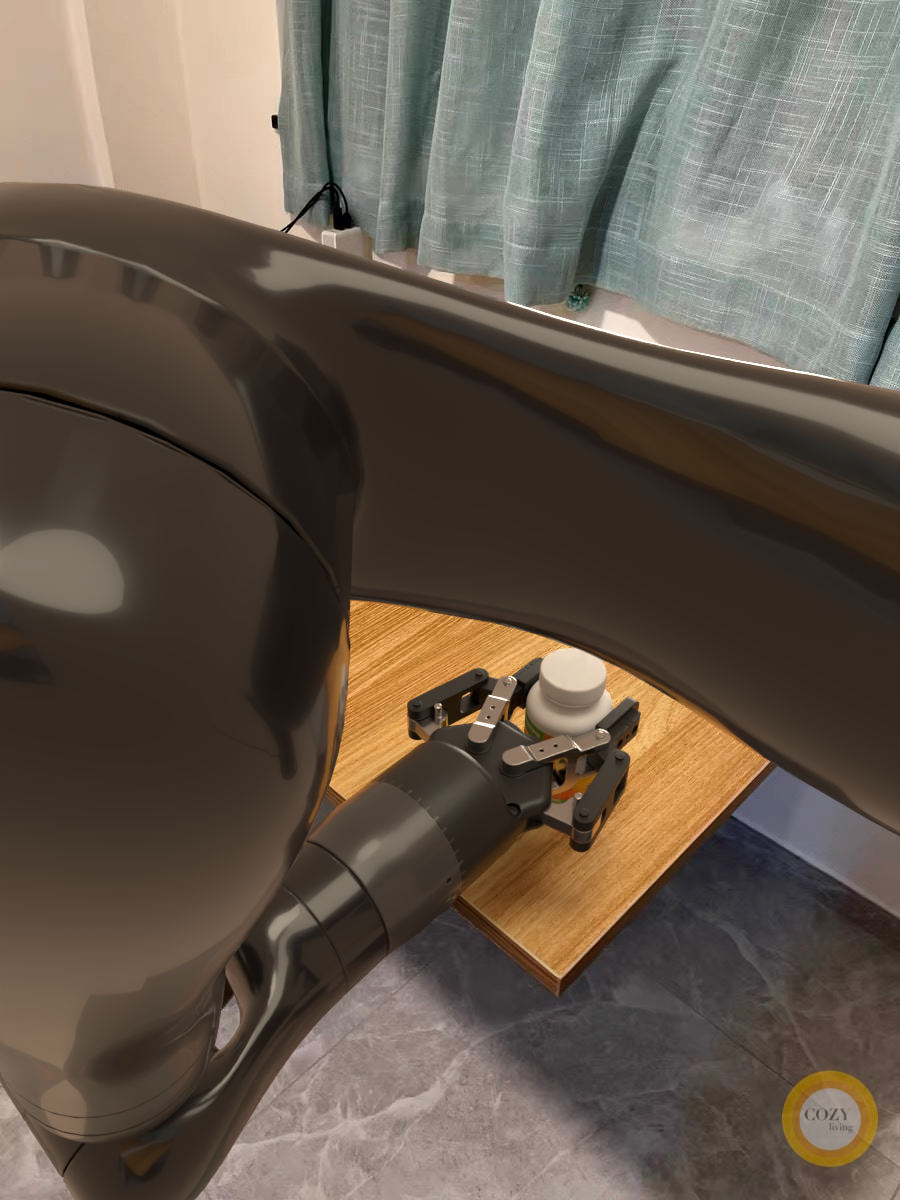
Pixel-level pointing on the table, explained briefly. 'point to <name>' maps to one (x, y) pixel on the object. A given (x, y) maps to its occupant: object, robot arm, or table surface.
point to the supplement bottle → (567, 702)
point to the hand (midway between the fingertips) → (592, 687)
